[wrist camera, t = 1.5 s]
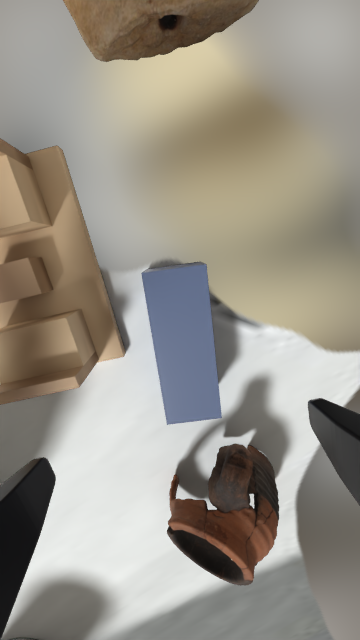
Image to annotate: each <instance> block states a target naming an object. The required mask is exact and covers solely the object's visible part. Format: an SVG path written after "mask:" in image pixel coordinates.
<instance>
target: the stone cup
mask: <svg viewBox="0 0 360 640" xmlns="http://www.w3.org/2000/svg"><path fill="white" fill-rule="evenodd" d="M63 1H64V3H65V5H66V7H67V8H68V10H69V12H70V14H71V16H72V17H73V19H74V21H75V23H76V25H77V28H78V30H79V32H80V34H81V36H82V38H83V40H84V42H85V43H86V45H87V46H88V48H89V49H90V51H91V52H92V54H93V55H94V57H95V58H96V59H98V60H100V61H106V62H108V61H111V60H115V59H124V60H138V59H140V58H145V57H153V56H156V55H158V54H160V55H164V54H168V53H170V52H172V51H173V50H175V49H176V48H178V47H187V46H190V45H192V44H195V43H199V42H202V41H204V40H205V39H207V38H208V37H210V36H211V35H213V34H214V33H216V32H222V31H224V30H225V29H226V28H227V27H229V26H230V25H231V24H233V23H234V22H235V21H237V20H238V19H240V18H241V17H243V16H244V15H246V14H247V13H249V12H250V11H251V10H252V9H253V8H254V7H255V5H256V4H257V2H258V1H259V0H63Z"/></svg>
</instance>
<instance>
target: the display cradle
mask: <svg viewBox="0 0 360 640" xmlns="http://www.w3.org/2000/svg"><path fill="white" fill-rule="evenodd" d="M125 353H126V352H125V348H124V345H123V342H122V339H121V336H120V332H119V329H118V326H117V323H116V320H115V316H114V313H113V310H112V307H111V304H110V300H109V297H108V294H107V291H106V288H105V284H104V281H103V278H102V275H101V272H100V268H99V265H98V262H97V259H96V256H95V253H94V249H93V246H92V243H91V240H90V236H89V233H88V230H87V227H86V224H85V221H84V218H83V214H82V211H81V208H80V204H79V201H78V198H77V195H76V192H75V189H74V185H73V182H72V179H71V176H70V173H69V169H68V166H67V163H66V160H65V156H64V153H63V150H62V149H61V148H59V147H58V146H53V147H50V148H46V149H42V150H38V151H34V152H31V153H27V154H24V153H22V152H21V151H19V150H17V149H16V148H14V147H13V146H11V145H10V144H8V143H7V142H5V141H3V140H2V139H0V383H1V385H0V405H1V404H6V403H10V402H15V401H19V400H24V399H29V398H33V397H38V396H42V395H47V394H51V393H56V392H61V391H65V390H70V389H74V388H79V387H80V386H81V384H82V383H83V381H84V380H85V379H86V377H87V376H88V374H89V373H90V372H91V370H92V369H93V367H94V366H95V365H96V363H97V362H102V361H106V360H111V359H115V358H120V357H124V355H125Z"/></svg>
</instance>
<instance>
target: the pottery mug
mask: <svg viewBox="0 0 360 640" xmlns="http://www.w3.org/2000/svg"><path fill="white" fill-rule="evenodd" d="M178 484H179V479H178V477H177V475H174V477H173V480H172V483H171V489H170V493H169V494H170V510H171V514H172V516H171V518H170V520H169V521H168V525H169V527H168V530H167V534H168V535H169V537H170V539H171V540H172V542H173V543H174V544H175V545H176V546H177V547H178V548H179V549H180V550H181V551H182V552H183V553H184V554H185V555H186V556H187V557H189V558H190V559H191V560H192V561H194V562H195V563H196V564H197V565H199V566H200V567H202V568H203V569H205V570H206V571H208V572H210V573H211V574H213V575H215V576H217V577H219V578H220V579H223V580H225V581H227V582H229V583H232V584H237V585H249V584H251V583H252V582H253V578H254V568H255V566H256V565H257V563H258V562H259V561H261V560H262V559H263V558H264V557H265V556H266V555H267V554H268V553H269V551H270V550H271V549H272V547H273V545H274V540H275V539H276V536H277V526H278V520H279V513H278V512H279V505H278V501H279V500H278V491H277V488H276V483H275V474H274V470H273V467H272V465H271V463H270V462H269V461H268V459H267V458H266V457H265V456H264V454H262V453H261V452H259V451H258V450H257V449H256V448H254V447H252V446H251V445H249V446H248V447H247V449H246V448H245V447H244V446H243V445H239V444H233V445H230V446H224V447H221V448H220V449H219V453H218V454H217V461H216V466H215V467H214V468H213V470H212V474H211V477H210V479H209V482H208V487H209V499H210V502H211V503H212V505H213V506H215V507H216V508H217V510H208V509H207V503H206V501H205V500H193V499H185V500H181V499H176V491H177V487H178ZM249 494H254V505H255V508H254V509H253V507H252V506H250V496H249ZM231 559H232V560H231Z"/></svg>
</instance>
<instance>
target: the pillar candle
mask: <svg viewBox="0 0 360 640" xmlns="http://www.w3.org/2000/svg"><path fill="white" fill-rule="evenodd" d="M11 640H35V639H27V638H17V639H11Z"/></svg>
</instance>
